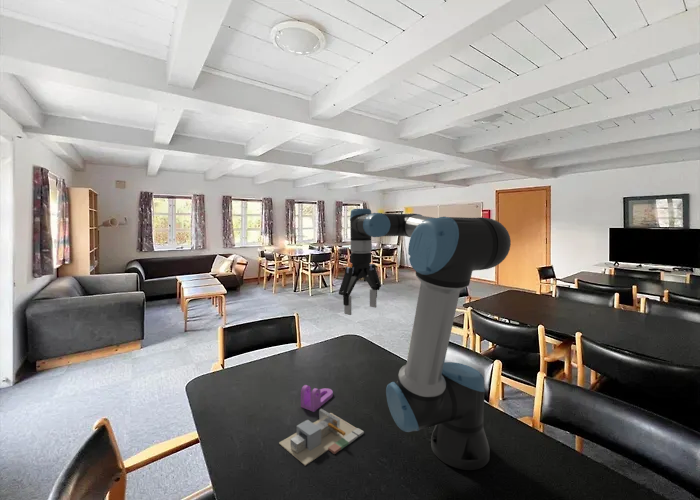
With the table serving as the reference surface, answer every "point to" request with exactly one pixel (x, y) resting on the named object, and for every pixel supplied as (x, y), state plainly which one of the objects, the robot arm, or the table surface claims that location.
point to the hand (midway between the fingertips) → (361, 310)
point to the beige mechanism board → (321, 440)
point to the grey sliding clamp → (326, 424)
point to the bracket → (314, 397)
